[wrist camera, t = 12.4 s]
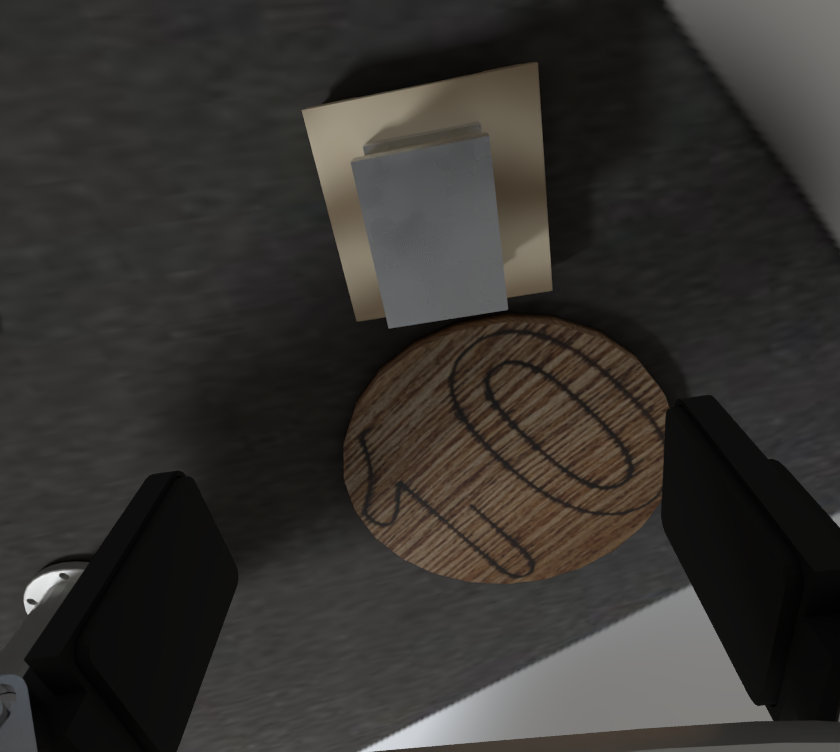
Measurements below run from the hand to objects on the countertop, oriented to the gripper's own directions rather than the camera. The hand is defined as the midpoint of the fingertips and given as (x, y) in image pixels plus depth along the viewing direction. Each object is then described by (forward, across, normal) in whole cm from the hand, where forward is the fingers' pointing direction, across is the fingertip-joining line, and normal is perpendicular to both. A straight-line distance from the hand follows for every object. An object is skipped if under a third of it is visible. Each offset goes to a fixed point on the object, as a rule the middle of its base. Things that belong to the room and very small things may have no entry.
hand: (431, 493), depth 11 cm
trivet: (+27, -3, +20) cm, 34 cm away
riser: (+26, -1, 0) cm, 26 cm away
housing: (+23, 0, 0) cm, 23 cm away
